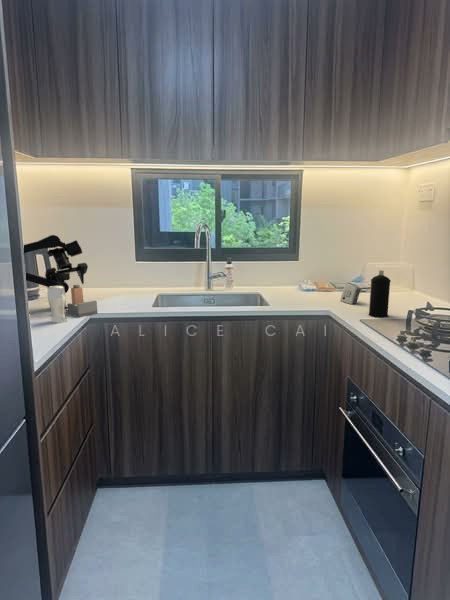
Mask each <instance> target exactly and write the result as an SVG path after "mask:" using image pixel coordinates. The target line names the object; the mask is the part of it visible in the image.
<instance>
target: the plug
mask: <svg viewBox="0 0 450 600" xmlns="http://www.w3.org/2000/svg"><path fill="white" fill-rule="evenodd" d="M70 293H71V294H70V295H71V304H75V305H77V304H78V303H83V302H84V293H83V287H81V286H80V284H73V285H72V287H70Z"/></svg>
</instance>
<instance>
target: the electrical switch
mask: <svg viewBox="0 0 450 600" xmlns="http://www.w3.org/2000/svg"><path fill="white" fill-rule="evenodd" d="M361 290H362V289H361V288H358V286H357V285H352V284H350V283H349V284H348V283H345V284H344V286H343V290H342V292H341V297H340V302H342V303H346V304H349V305H353V304H355V305H356V304H357V303H358V299H359V296H360V293H361Z"/></svg>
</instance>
